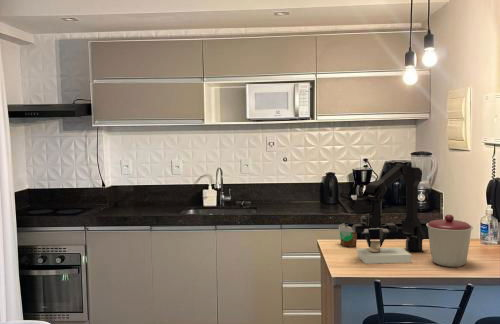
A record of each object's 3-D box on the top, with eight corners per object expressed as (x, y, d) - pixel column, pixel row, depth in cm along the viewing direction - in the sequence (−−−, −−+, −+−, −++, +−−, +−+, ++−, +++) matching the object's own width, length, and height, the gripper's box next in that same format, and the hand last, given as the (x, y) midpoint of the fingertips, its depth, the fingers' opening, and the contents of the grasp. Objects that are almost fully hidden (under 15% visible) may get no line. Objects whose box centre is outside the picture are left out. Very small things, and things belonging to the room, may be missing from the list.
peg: (378, 255, 202) (378, 240, 201) (381, 258, 197) (381, 242, 196) (368, 256, 202) (368, 240, 201) (371, 258, 197) (371, 243, 196)
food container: (333, 243, 229) (333, 224, 228) (344, 242, 231) (344, 223, 230) (347, 249, 217) (347, 229, 217) (357, 248, 219) (357, 227, 219)
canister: (444, 271, 180) (444, 220, 179) (417, 259, 198) (417, 212, 196) (482, 268, 184) (483, 217, 183) (452, 256, 202) (453, 210, 201)
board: (401, 255, 206) (401, 247, 205) (411, 262, 194) (411, 254, 193) (357, 256, 205) (357, 248, 205) (365, 263, 193) (365, 255, 193)
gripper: (389, 208, 206) (389, 242, 207) (349, 209, 206) (349, 243, 207) (398, 212, 195) (398, 248, 196) (355, 214, 195) (355, 249, 196)
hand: (374, 247), depth 199 cm, fingers closed on peg, 5 cm apart
